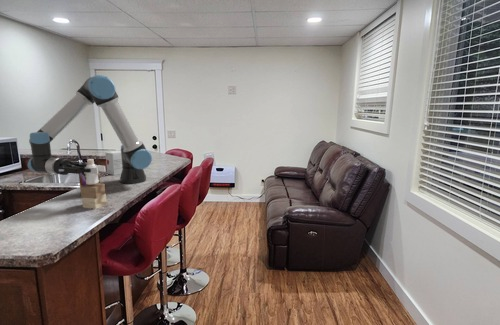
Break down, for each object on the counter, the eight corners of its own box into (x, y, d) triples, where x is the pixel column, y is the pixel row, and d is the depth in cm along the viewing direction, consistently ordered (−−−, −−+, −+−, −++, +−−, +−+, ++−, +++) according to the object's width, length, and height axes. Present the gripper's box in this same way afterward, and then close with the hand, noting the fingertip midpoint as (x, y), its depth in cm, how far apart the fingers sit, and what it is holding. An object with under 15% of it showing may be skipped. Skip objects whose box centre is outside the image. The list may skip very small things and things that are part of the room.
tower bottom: (94, 202, 139) (93, 193, 138) (106, 204, 138) (105, 194, 137) (82, 207, 133) (81, 197, 132) (95, 209, 131) (94, 198, 130)
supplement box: (106, 173, 197) (104, 151, 194) (118, 171, 204) (117, 150, 201) (113, 175, 192) (112, 153, 189) (126, 173, 199) (124, 151, 196)
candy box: (101, 193, 154) (99, 165, 151) (97, 195, 150) (94, 167, 147) (85, 192, 154) (82, 165, 151) (80, 195, 150) (77, 166, 147)
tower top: (91, 193, 138) (90, 183, 137) (105, 193, 138) (104, 183, 137) (81, 197, 131) (80, 187, 130) (96, 198, 131) (95, 187, 130)
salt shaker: (101, 181, 136) (99, 158, 134) (95, 184, 131) (93, 160, 128) (89, 181, 136) (87, 158, 134) (83, 184, 130) (81, 160, 128)
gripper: (74, 170, 145) (114, 173, 139) (44, 178, 129) (87, 182, 123) (73, 155, 143) (113, 158, 138) (41, 161, 127) (85, 165, 122)
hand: (101, 169), depth 131 cm, fingers closed on salt shaker, 4 cm apart
